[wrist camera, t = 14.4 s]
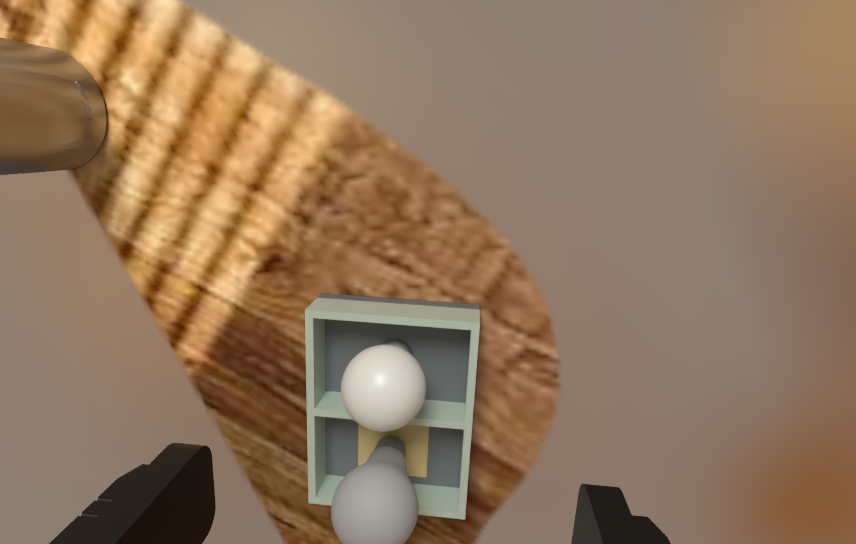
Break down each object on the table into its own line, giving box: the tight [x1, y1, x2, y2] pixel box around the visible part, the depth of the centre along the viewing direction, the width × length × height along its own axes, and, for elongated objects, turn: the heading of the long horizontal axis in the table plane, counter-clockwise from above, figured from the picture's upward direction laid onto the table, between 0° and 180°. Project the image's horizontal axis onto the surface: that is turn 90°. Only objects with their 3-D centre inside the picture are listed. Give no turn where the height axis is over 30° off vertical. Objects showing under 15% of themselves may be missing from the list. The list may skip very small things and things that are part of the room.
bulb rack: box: [305, 293, 480, 520], centre depth 39 cm, size 13×17×10 cm
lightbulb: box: [331, 435, 418, 544], centre depth 38 cm, size 6×6×11 cm
